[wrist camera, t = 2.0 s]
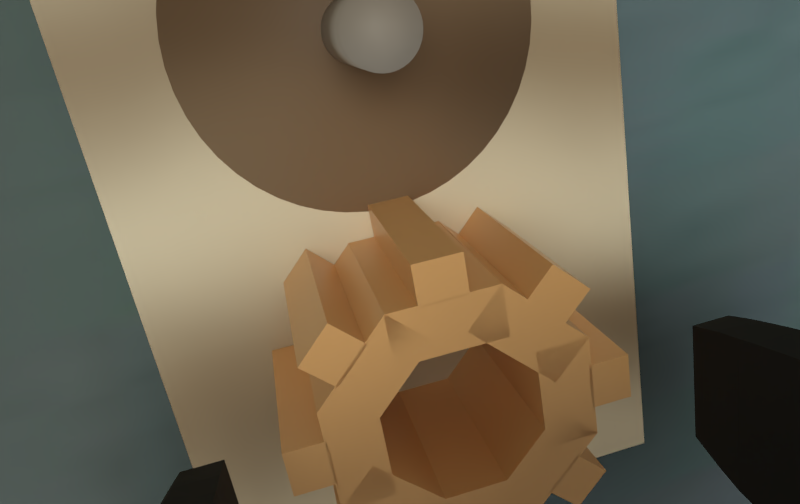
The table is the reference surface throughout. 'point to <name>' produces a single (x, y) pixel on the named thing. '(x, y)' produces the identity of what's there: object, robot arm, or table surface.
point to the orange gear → (467, 384)
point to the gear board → (336, 172)
